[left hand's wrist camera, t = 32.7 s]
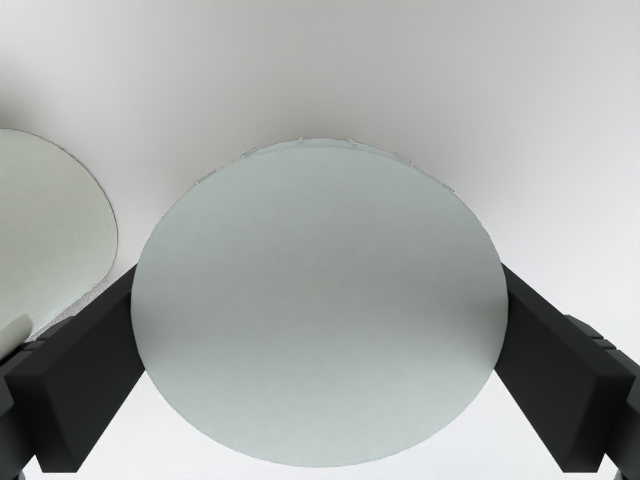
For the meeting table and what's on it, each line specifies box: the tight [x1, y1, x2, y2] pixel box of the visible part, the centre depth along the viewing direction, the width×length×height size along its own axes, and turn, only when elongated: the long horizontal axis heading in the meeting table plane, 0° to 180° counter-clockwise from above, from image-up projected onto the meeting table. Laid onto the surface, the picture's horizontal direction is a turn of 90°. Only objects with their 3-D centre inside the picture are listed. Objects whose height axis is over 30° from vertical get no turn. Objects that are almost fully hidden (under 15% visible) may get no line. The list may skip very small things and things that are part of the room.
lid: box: [131, 137, 508, 467], centre depth 11 cm, size 11×11×2 cm
